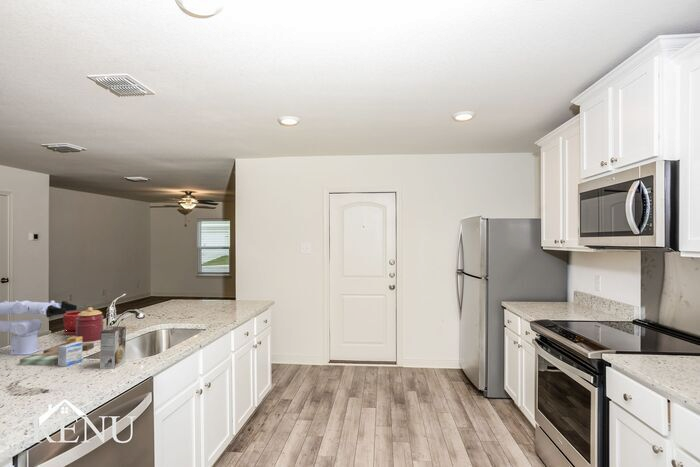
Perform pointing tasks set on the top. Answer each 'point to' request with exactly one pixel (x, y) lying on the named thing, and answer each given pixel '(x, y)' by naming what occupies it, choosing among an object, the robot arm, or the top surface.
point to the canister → (89, 325)
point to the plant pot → (70, 322)
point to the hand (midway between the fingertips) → (71, 309)
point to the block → (74, 339)
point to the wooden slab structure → (49, 356)
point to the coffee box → (112, 347)
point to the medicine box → (69, 354)
